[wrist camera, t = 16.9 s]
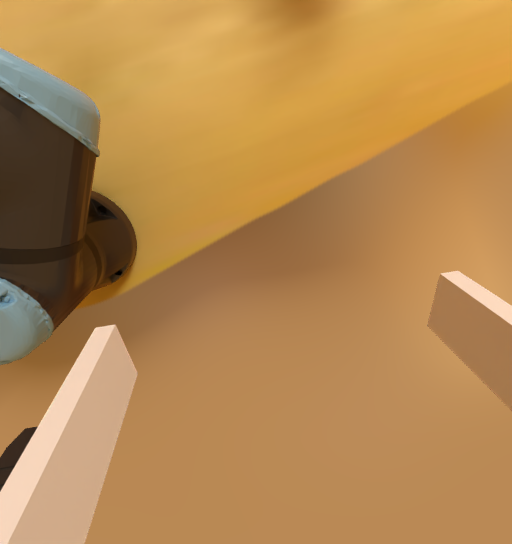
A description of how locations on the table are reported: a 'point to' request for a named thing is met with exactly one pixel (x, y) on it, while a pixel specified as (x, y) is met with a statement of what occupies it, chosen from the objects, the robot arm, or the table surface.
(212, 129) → the table surface
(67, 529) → the robot arm
